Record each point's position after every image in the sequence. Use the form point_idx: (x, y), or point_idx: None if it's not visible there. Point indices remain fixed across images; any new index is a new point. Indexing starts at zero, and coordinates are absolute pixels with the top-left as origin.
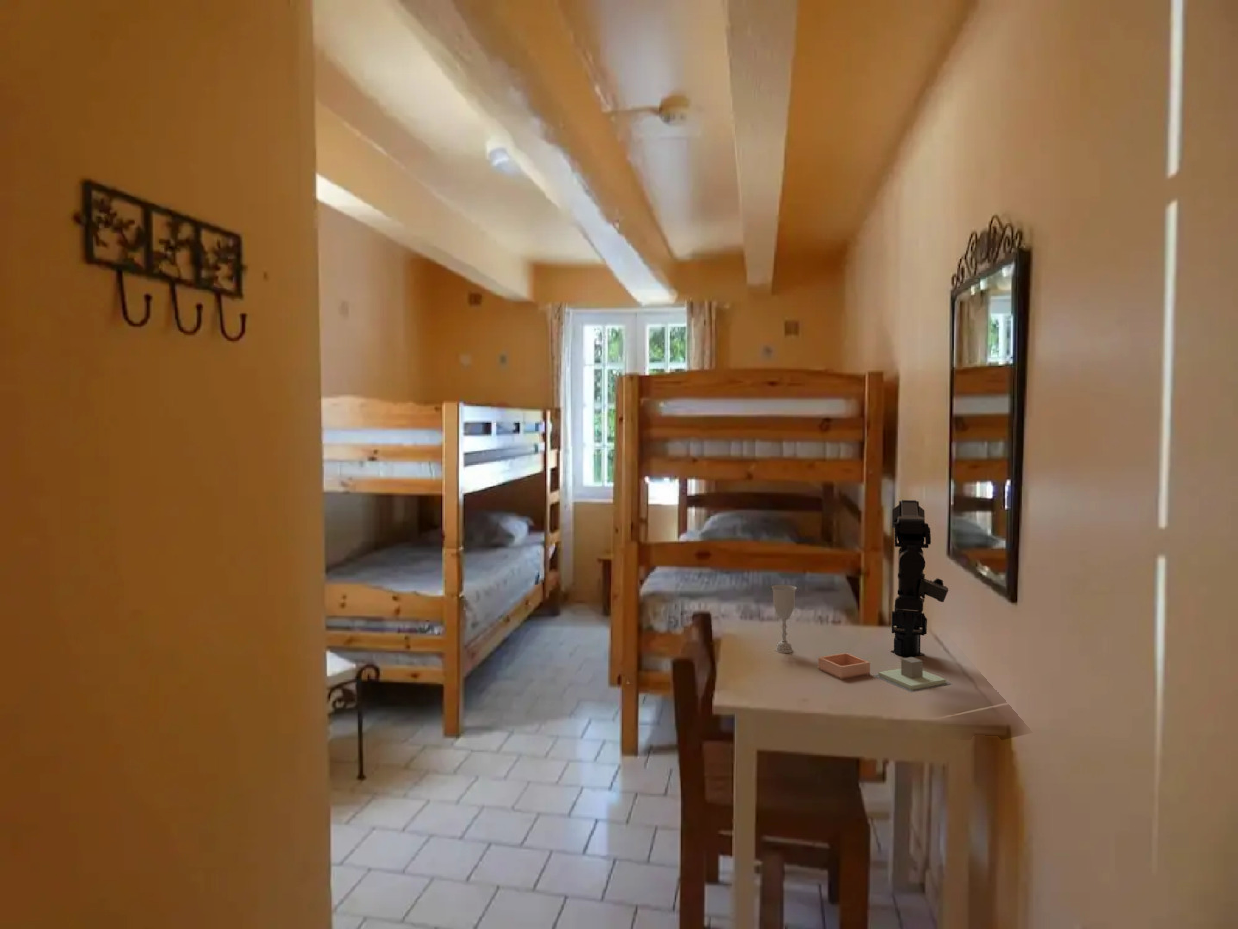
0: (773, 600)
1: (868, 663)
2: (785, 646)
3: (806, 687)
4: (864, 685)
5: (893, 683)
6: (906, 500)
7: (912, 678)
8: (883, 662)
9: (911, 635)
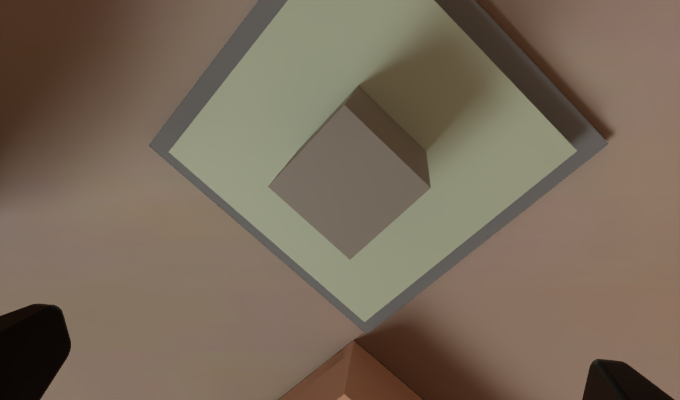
0: None
1: (354, 397)
2: None
3: None
4: (512, 362)
5: (469, 240)
6: None
7: (420, 147)
8: (101, 282)
9: (635, 376)
